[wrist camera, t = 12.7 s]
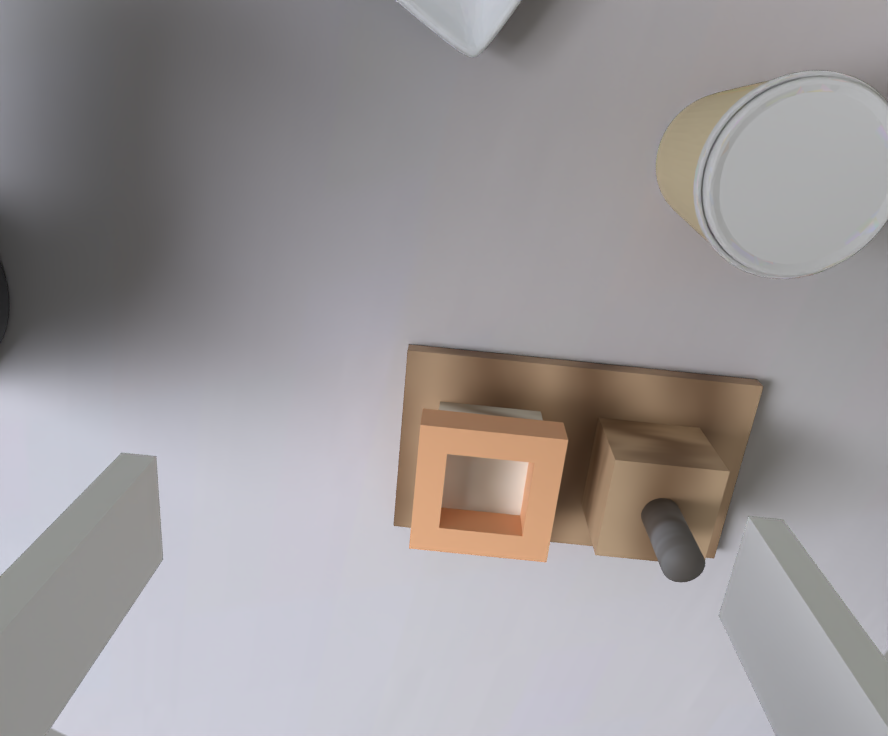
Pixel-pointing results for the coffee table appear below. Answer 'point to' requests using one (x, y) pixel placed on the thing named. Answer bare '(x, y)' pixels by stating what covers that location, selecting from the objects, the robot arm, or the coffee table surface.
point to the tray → (463, 20)
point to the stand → (594, 448)
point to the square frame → (494, 441)
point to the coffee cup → (781, 171)
